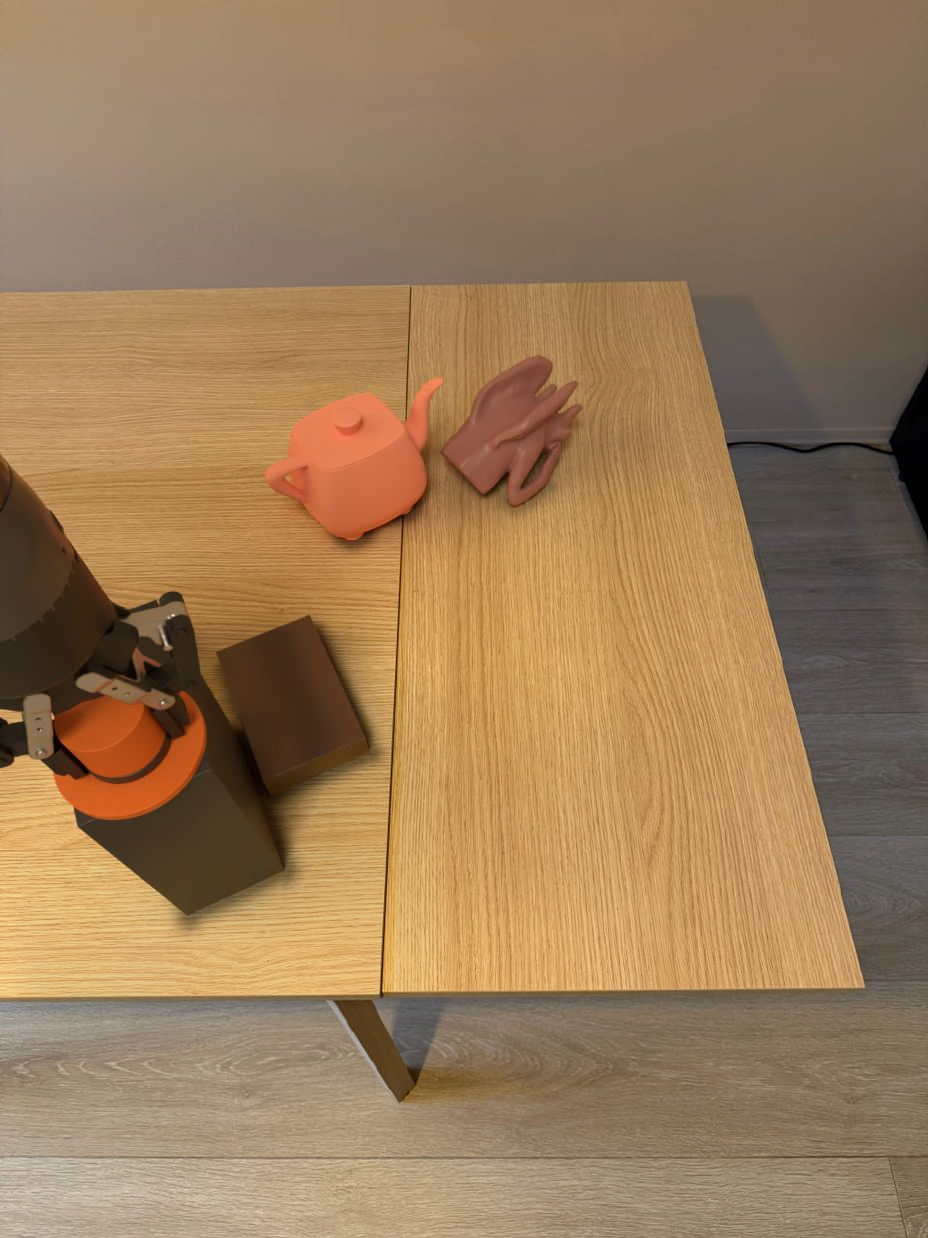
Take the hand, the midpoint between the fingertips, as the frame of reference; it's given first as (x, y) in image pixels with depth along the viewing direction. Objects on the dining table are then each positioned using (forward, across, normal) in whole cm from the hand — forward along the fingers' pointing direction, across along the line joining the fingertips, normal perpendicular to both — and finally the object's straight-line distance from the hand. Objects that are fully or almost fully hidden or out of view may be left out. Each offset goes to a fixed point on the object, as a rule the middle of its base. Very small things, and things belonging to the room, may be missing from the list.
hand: (128, 743), depth 49 cm
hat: (+1, 0, 0) cm, 1 cm away
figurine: (+21, +41, +28) cm, 54 cm away
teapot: (+21, +25, +30) cm, 45 cm away
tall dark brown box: (+21, 0, +4) cm, 21 cm away
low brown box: (+21, +9, +10) cm, 25 cm away
